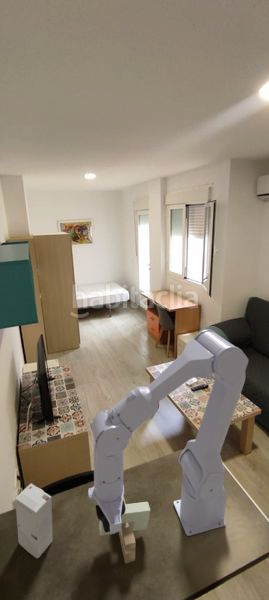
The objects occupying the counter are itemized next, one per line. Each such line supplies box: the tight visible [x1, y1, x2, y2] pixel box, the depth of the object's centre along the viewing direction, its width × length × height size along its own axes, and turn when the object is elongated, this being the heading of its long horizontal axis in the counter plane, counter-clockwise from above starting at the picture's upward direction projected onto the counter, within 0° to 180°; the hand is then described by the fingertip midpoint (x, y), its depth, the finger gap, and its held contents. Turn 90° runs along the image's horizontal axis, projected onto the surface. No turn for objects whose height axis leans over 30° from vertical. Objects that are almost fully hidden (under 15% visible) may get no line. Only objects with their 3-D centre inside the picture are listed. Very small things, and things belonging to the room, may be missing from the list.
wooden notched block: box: [118, 496, 137, 564], centre depth 62 cm, size 2×10×5 cm, turn 15°
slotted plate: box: [98, 501, 151, 537], centre depth 61 cm, size 10×2×5 cm, turn 106°
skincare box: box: [15, 483, 54, 559], centre depth 59 cm, size 6×4×12 cm
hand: (108, 523), depth 60 cm, fingers closed on slotted plate, 2 cm apart
